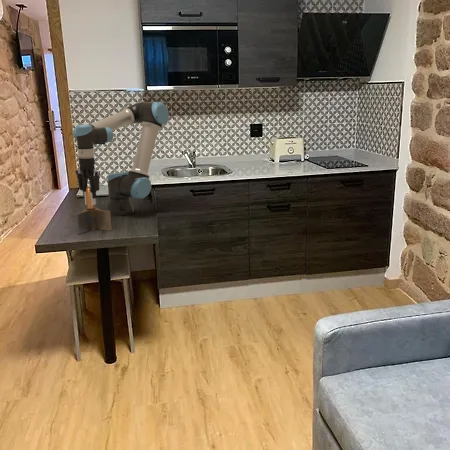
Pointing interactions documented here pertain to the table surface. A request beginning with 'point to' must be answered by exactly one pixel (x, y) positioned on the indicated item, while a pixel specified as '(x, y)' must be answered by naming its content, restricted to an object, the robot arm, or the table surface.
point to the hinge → (93, 220)
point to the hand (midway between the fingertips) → (90, 204)
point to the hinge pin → (89, 199)
